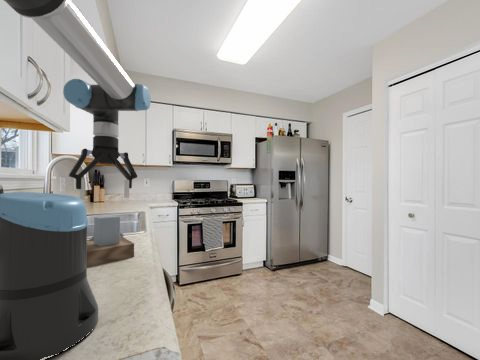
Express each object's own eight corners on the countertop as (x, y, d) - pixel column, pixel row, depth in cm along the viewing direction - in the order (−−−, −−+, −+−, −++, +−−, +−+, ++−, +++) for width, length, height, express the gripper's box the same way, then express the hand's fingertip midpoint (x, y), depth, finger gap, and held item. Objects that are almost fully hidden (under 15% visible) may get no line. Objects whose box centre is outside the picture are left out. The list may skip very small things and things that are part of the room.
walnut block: (84, 268, 68) (84, 252, 68) (78, 257, 78) (78, 243, 78) (134, 258, 77) (134, 243, 77) (122, 249, 88) (122, 236, 88)
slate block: (99, 246, 73) (100, 218, 74) (93, 243, 77) (94, 217, 78) (119, 243, 78) (119, 216, 78) (112, 240, 82) (113, 215, 82)
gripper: (138, 143, 90) (138, 196, 89) (58, 133, 72) (57, 200, 72) (146, 140, 84) (146, 197, 84) (62, 128, 67) (61, 201, 66)
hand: (105, 198), depth 78 cm, fingers open, 13 cm apart
